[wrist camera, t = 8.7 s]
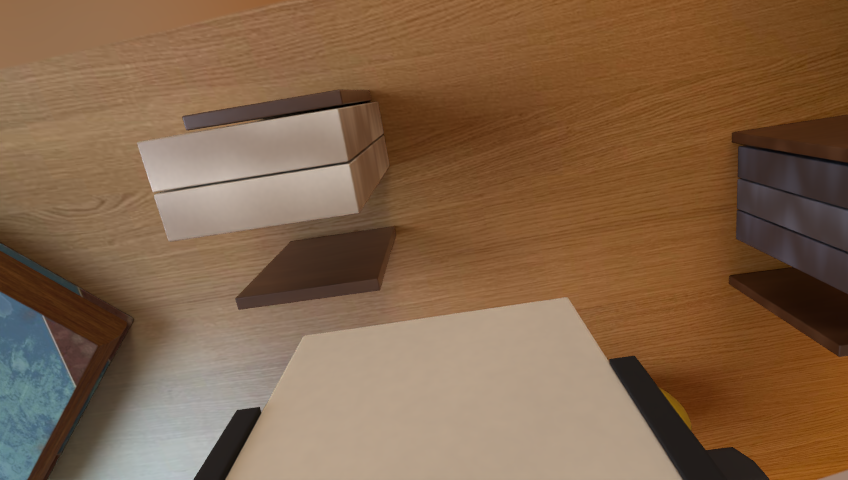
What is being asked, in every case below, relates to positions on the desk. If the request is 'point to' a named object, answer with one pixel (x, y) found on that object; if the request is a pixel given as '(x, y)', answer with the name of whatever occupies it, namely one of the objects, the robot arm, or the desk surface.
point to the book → (47, 362)
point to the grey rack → (798, 223)
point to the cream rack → (280, 188)
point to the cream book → (454, 404)
